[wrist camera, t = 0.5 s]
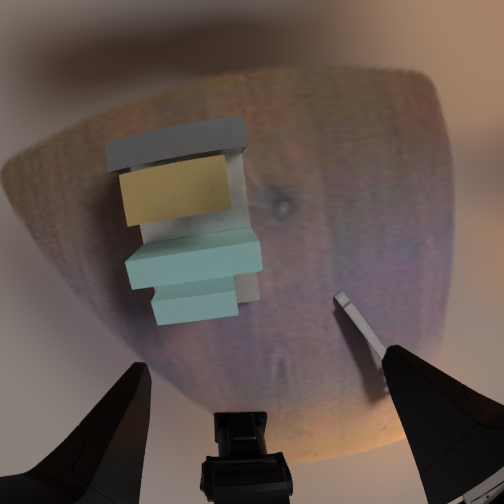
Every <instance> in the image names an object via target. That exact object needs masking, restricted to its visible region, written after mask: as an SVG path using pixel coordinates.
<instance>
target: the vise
mask: <svg viewBox="0 0 504 504" xmlns="http://www.w3.org/2000/svg"><path fill="white" fill-rule="evenodd" d="M246 147H247V139H246V131H245V123H244V116H235V117H226V118H219V119H212V120H205V121H198V122H192V123H187V124H181V125H176V126H171V127H166V128H161V129H156V130H152V131H147V132H143V133H139V134H135V135H131V136H127V137H123V138H119V139H116V140H112V141H109V142H105V152H106V161H107V169H108V172H125V173H129V172H133V171H137V170H142V169H146V168H151V167H156V166H161V165H166V164H171V163H176V162H182V161H187V160H193V159H199V158H206V157H212V156H219V155H225V163H226V170H227V178H228V185H229V192H230V200H231V207H232V209H230V210H223V211H216V212H210V213H203V214H197V215H191V216H185V217H179V218H173V219H167V220H162V221H156V222H151V223H145V224H140V229H141V234H142V239H143V243H144V245H145V244H151V243H157V242H163V241H169V240H175V239H181V238H188V237H194V236H200V235H207V234H213V233H220V232H226V231H233V230H240V229H247V228H251V224H250V216H249V208H248V201H247V193H246V185H245V177H244V170H243V162H242V154H241V153H242V152H243V151H244V150H245V149H246ZM233 278H234V285H235V292H236V299H237V303H243V302H250V301H256V300H260V294H259V287H258V279H257V272H251V273H245V274H238V275H233ZM158 287H159V286H156V287H154V290H155V293H156V291H157V289H158Z"/></svg>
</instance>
